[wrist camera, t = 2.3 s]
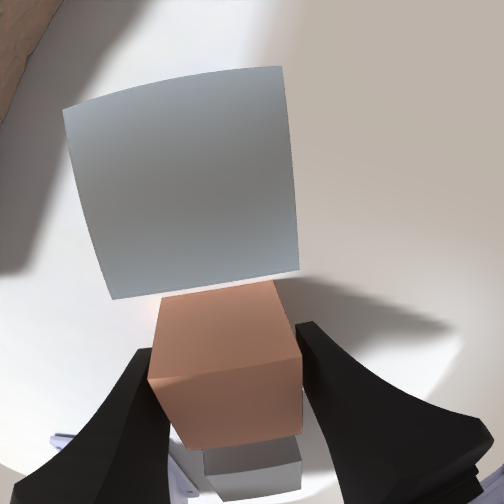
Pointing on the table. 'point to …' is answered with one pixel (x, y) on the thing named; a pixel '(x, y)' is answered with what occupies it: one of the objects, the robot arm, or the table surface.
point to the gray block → (254, 469)
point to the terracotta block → (227, 367)
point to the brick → (20, 41)
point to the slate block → (187, 181)
